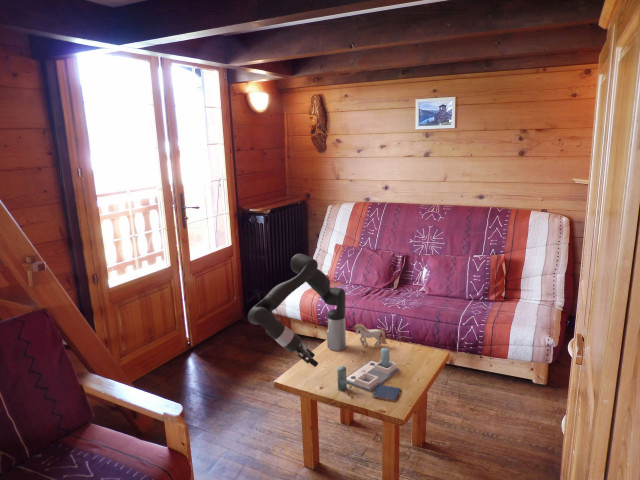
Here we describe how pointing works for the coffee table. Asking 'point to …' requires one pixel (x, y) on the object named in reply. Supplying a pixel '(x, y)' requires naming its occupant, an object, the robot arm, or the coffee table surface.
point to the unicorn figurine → (370, 335)
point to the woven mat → (387, 393)
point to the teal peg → (342, 378)
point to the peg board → (373, 373)
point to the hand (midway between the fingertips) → (315, 360)
